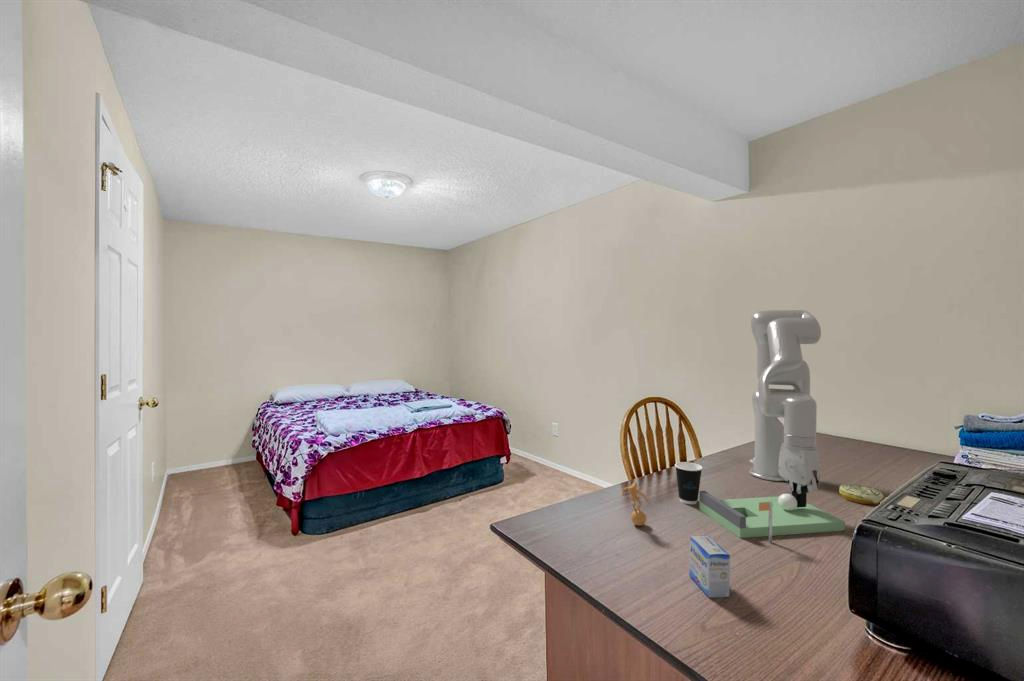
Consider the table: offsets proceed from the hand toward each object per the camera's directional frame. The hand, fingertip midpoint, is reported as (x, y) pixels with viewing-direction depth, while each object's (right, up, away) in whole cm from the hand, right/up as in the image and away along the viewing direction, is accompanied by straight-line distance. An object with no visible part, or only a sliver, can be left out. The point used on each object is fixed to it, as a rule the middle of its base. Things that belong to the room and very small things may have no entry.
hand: (799, 505), depth 121 cm
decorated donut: (+28, -3, +13) cm, 31 cm away
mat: (-9, -3, -1) cm, 10 cm away
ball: (-4, +1, -1) cm, 4 cm away
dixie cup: (-26, -3, +12) cm, 29 cm away
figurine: (-47, -4, -5) cm, 48 cm away
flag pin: (-18, -4, -14) cm, 23 cm away
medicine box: (-40, -4, -33) cm, 52 cm away
